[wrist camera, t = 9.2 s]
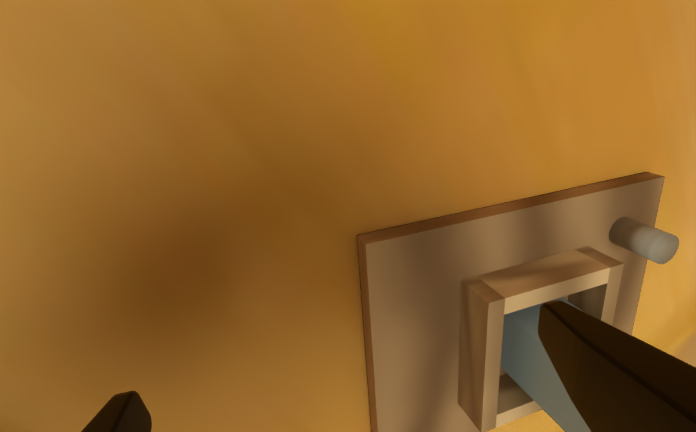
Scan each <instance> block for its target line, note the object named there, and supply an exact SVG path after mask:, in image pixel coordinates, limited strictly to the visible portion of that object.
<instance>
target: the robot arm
mask: <svg viewBox="0 0 696 432" xmlns="http://www.w3.org/2000/svg"><path fill="white" fill-rule="evenodd" d="M538 335H539V338H540V341H541V343H542V345H543V347H544V349H545V351H546V353H547V355H548V356H549V358H550V360H551V362H552V364H553V366H554V368H555V370H556V372H557V374H558V376H559V378H560V380H561V382H562V384H563V386H564V388H565V390H566V392H567V393H568V395H569V397H570V399H571V401H572V402H573V404H574V406H575V407H576V409H577V411H578V412H579V414H580V415H581V417H582V418H583V420H584V421H585V423H586V425H587V426H588V428H589V429H590V431H591V432H696V367H693V366H691V365H689V364H688V363H685V362H684V361H682V360H680V359H678V358H676V357H674V356H672V355H670V354H668V353H666V352H664V351H662V350H660V349H658V348H656V347H654V346H652V345H650V344H648V343H646V342H644V341H642V340H640V339H638V338H636V337H634V336H632V335H630V334H628V333H626V332H624V331H622V330H620V329H618V328H616V327H614V326H612V325H610V324H608V323H606V322H604V321H602V320H600V319H598V318H596V317H594V316H592V315H590V314H588V313H586V312H584V311H582V310H580V309H578V308H576V307H574V306H572V305H570V304H568V303H566V302H564V301H561V300H555V301H550V302H545V303H543V304H542V305H541V306H540V312H539V322H538ZM151 426H152V422H151V416H150V413H149V412H148V410H147V408H146V406H145V404H144V403H143V401H142V399H141V397H140V396H139V394H138V393H137V392H136V391H129V392H124V393H120V394H116V395H114V396H113V397H112V398H111V399H110V400H109V401H108V402H107V404H106V405H105V406H104V407H103V408H102V409H101V410H100V411H99V412H98V414H97V415H96V416H95V417H94V418H93V419H92V420H91V421H90V422H89V424H88V425H87V426H86V427H85V428H84V429H83V430H82V431H81V432H151Z"/></svg>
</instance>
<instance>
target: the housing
mask: <svg viewBox="0 0 696 432" xmlns="http://www.w3.org/2000/svg"><path fill="white" fill-rule="evenodd" d="M664 179H665V177H664V176H660V175H656V174H653V173H649V172H644V173H640V174H635V175H630V176H626V177H621V178H617V179H612V180H608V181H603V182H599V183H594V184H589V185H585V186H580V187H576V188H571V189H567V190H562V191H557V192H553V193H548V194H544V195H539V196H535V197H530V198H525V199H521V200H516V201H512V202H507V203H503V204H498V205H494V206H489V207H484V208H480V209H475V210H471V211H466V212H462V213H457V214H452V215H448V216H443V217H439V218H434V219H430V220H425V221H421V222H416V223H411V224H407V225H402V226H398V227H393V228H389V229H384V230H379V231H375V232H370V233H366V234H361V235H357V243H358V256H359V270H360V284H361V297H362V311H363V325H364V338H365V352H366V366H367V379H368V393H369V407H370V420H371V432H486V431H489V430H491V429H494V428H496V427H499V426H501V425H504V424H507V423H509V422H512V421H514V420H517V419H519V418H522V417H525V416H527V415H530V414H532V413H535V412H537V411H540V410H542V408H541V407H540V406H539V405H538V404H537V403H536V402H535V401H534V400H533V399H532V398H531V397H530V396H529V395H528V394H527V393H526V392H525V391H524V390H523V389H522V388H521V387H520V386H519V385H518V384H517V383H516V382H515V381H514V380H513V379H512V378H511V377H510V376H509V375H508V374H507V373H506V372H505V371H504V370H503V369H502V368H501V367H500V363H501V349H502V336H503V322H504V315H505V314H508V313H511V312H514V311H518V310H521V309H524V308H527V307H531V306H534V305H537V304H541V303H544V302H547V301H550V300H554V299H557V298H560V297H562V298H564V299H565V300H567V301H568V302H570V303H571V304H573V305H574V306H576V307H578V308H579V309H581V310H582V311H584V312H586V313H588V314H590V315H592V316H594V317H596V318H598V319H600V320H602V321H604V322H606V323H608V324H610V325H612V326H614V327H616V328H618V329H620V330H622V331H624V332H626V333H628V334H630V335H632V330H633V325H634V320H635V316H636V311H637V306H638V302H639V297H640V292H641V287H642V283H643V278H644V273H645V268H646V264H647V259H649V260H651V261H653V262H656V263H658V264H664V263H667V262H668V261H669V260H671V259H672V258H673V256H674V255H675V253H676V252H677V249H678V246H679V240H678V237H677V236H675V235H672V234H670V233H667V232H664V231H662V230H659V229H657V228H654V226H655V221H656V216H657V212H658V207H659V202H660V197H661V193H662V188H663V183H664Z"/></svg>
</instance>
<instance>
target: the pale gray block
mask: <svg viewBox="0 0 696 432" xmlns="http://www.w3.org/2000/svg"><path fill="white" fill-rule="evenodd" d="M555 300H561V301H564V302H566V303H568V304H570V305H572V306H574V305H573V304H571V303H570V302H568V301H567V300H565V299H564V298H562V297H560V298H557V299H554V300H550V301H555ZM550 301H547V302H550ZM544 303H545V302H544ZM542 304H543V303H541V304H537V305H534V306H531V307H527V308H524V309H521V310H518V311H514V312H511V313H508V314H505V315H504V322H503V336H502V349H501V363H500V367H501V368H502V369H503V370H504V371H505V372H506V373H507V374H508V375H509V376H510V377H511V378H512V379H513V380H514V381H515V382H516V383H517V384H518V385H519V386H520V387H521V388H522V389H523V390H524V391H525V392H526V393H527V394H528V395H529V396H530V397H531V398H532V399H533V400H534V401H535V402H536V403H537V404H538V405H539V406H540V407H541V408H542V409H543V410H544V411H545V412H546V413H547V414H548V415H549V416H550V417H551V418H552V419H553V420H554V421H555V422H556V423H557V424H558V425H559V426H560V427H561V428H562V429H563V430H564V431H565V432H591V431H590V429H589V428H588V426H587V425H586V423H585V421H584V420H583V418H582V417H581V415H580V414H579V412H578V411H577V409H576V407H575V406H574V404H573V402H572V401H571V399H570V397H569V395H568V393H567V392H566V390H565V388H564V386H563V384H562V382H561V380H560V378H559V376H558V374H557V372H556V370H555V368H554V366H553V364H552V362H551V360H550V358H549V356H548V355H547V353H546V351H545V349H544V347H543V345H542V343H541V341H540V338H539V335H538V322H539V312H540V306H541V305H542ZM574 307H576V306H574ZM576 308H578V307H576ZM578 309H579V308H578ZM580 310H581V309H580Z"/></svg>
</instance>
